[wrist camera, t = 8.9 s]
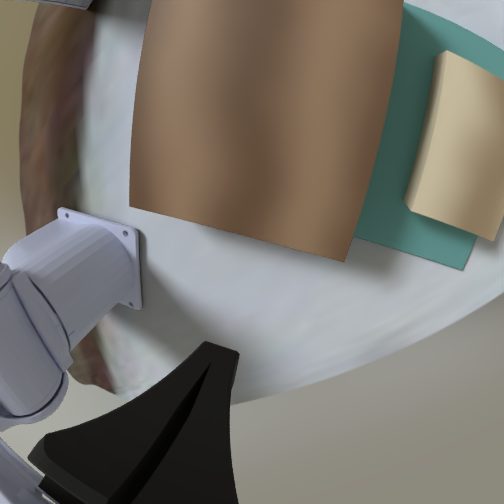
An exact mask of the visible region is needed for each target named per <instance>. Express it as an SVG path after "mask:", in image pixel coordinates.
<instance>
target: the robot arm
mask: <svg viewBox="0 0 504 504" xmlns="http://www.w3.org/2000/svg"><path fill="white" fill-rule="evenodd" d="M126 231H127V232H128V234H127V233H126ZM117 303H120V304H123V305H125V306H127V307H130V308H132V309H135V310H140V309H141V308H142V298H141V284H140V267H139V241H138V232H137V230H136V229H135V228H133V227H129V226H126V225H122V224H119V223H115V222H112V221H109V220H105V219H102V218H98V217H95V216H91V215H88V214H84V213H81V212H77V211H74V210H70V209H67V208H64V207H61V208H59V209H58V219H56V220H55V221H53V222H51V223H49V224H47V225H45V226H44V227H42V228H40V229H38V230H37V231H35V232H33V233H31V234H30V235H28V236H26V237H25V238H23V239H21V240H19V241H18V242H16V243H15V244H14V245H13V246H11V248H10V249H9V250H8V251H7V253H6V254H5V256H4V258H3V260H2V263H1V262H0V432H3V431H5V430H6V429H8V428H10V427H12V426H15V425H19V424H32V423H36V422H38V421H41V420H44V419H45V418H47V417H48V416H50V415H51V414H52V413H54V412H55V410H56V409H57V408H58V407H59V406H60V404H61V402H62V401H63V398H64V397H65V395H66V392H67V389H68V383H69V380H68V375H67V372H66V370H67V369H68V367H69V366H70V365H71V364H72V363H73V360H72V358H71V357H70V354H69V352H70V351H71V350H72V349H73V348H74V347H75V346H76V345H77V344H78V343H79V342H80V341H81V340H82V339H83V338H84V337H85V336H86V334H87V333H88V332H89V331H90V330H91V329H92V328H93V327H94V326H95V325H96V324H97V323H98V322H99V321H100V320H101V319H102V318H103V317H104V316H105V315H106V314H107V313H108V312H109V311H110V310H111V309H112V308H113V307H114V306H115V305H116V304H117ZM239 355H240V354H239V353H238V352H237V351H235V350H231V349H228V348H225V347H222V346H219V345H216V344H213V343H210V342H207V341H205V342H203V343H202V344H201V345H200V346H199V347H198V348H197V349H196V350H195V351H194V352H193V353H192V354H191V355H190V356H189V357H188V358H187V359H186V360H185V361H183V362H182V363H181V364H180V365H179V366H178V367H177V368H175V369H174V370H173V371H172V372H171V373H169V374H168V375H167V376H166V377H165V378H163V379H162V380H161V381H159V382H158V383H157V384H155V385H154V386H152V387H151V388H150V389H148V390H147V391H145V392H144V393H142V394H141V395H139V396H138V397H136V398H135V399H133V400H131V401H129V402H128V403H126V404H124V405H123V406H121V407H119V408H117V409H115V410H113V411H111V412H109V413H107V414H105V415H102V416H100V417H98V418H95V419H93V420H90V421H87V422H85V423H82V424H80V425H77V426H74V427H71V428H67V429H63V430H59V431H56V432H52V433H48V434H46V435H45V436H44V437H43V438H42V439H41V440H40V441H39V442H38V443H37V444H36V446H35V447H34V449H33V450H32V451H31V453H30V454H29V455H28V460H29V461H30V462H31V463H32V464H33V465H34V466H36V467H37V468H38V469H39V470H40V471H42V472H43V473H44V474H45V477H43V476H41V475H40V474H39V473H38V472H37V471H35V470H34V469H33V468H32V467H31V466H29V464H27V463H26V462H25V461H24V460H23V459H22V458H21V457H20V456H19V455H17V454H16V453H15V452H14V451H13V450H12V449H11V448H10V447H9V446H8V445H7V444H6V443H5V442H4V441H3V440H2V439H1V438H0V504H53V503H51V502H50V501H48V500H46V499H45V498H43V497H42V493H43V494H44V495H45V496H47V497H48V498H49V499H50V500H52V501H53V502H55V503H56V504H239V503H238V498H237V494H236V488H235V481H234V475H233V468H232V459H231V448H230V424H229V423H230V421H229V420H230V398H231V389H232V386H233V383H234V379H235V374H236V370H237V365H238V360H239Z"/></svg>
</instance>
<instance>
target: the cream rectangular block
mask: <svg viewBox="0 0 504 504" xmlns="http://www.w3.org/2000/svg"><path fill="white" fill-rule="evenodd" d="M403 201H404V202H405V204H406V205H407V206H408V208H409V209H410V210H411V211H413V212H416V213H419V214H421V215H424V216H427V217H430V218H433V219H436V220H439V221H441V222H444V223H447V224H449V225H452V226H455V227H457V228H460V229H463V230H465V231H468V232H470V233H473V234H475V235H478V236H480V237H483V238H485V239H488V240H490V241H492V242H494V239H495V237H496V234H497V232H498V229H499V227H500V224H501V221H502V219H503V216H504V81H503V80H502V79H500V78H498V77H497V76H495V75H493V74H492V73H490V72H488V71H487V70H485V69H483V68H481V67H479V66H478V65H476V64H474V63H472V62H470V61H468V60H466V59H464V58H462V57H460V56H458V55H456V54H454V53H452V52H450V51H448V50H446V51H444V52H442V53H441V54H439V55H437V56H435V59H434V67H433V74H432V80H431V87H430V92H429V98H428V103H427V109H426V114H425V118H424V123H423V128H422V132H421V136H420V141H419V145H418V149H417V153H416V157H415V160H414V164H413V168H412V171H411V175H410V179H409V182H408V185H407V189H406V192H405V195H404V198H403Z"/></svg>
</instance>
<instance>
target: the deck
mask: <svg viewBox="0 0 504 504" xmlns="http://www.w3.org/2000/svg"><path fill="white" fill-rule="evenodd" d="M403 1H404V0H152V3H151V7H150V11H149V16H148V20H147V25H146V30H145V35H144V40H143V46H142V52H141V58H140V64H139V71H138V78H137V85H136V93H135V102H134V112H133V124H132V137H131V154H130V186H129V206H130V207H134V208H138V209H142V210H146V211H150V212H154V213H158V214H162V215H166V216H170V217H174V218H178V219H182V220H186V221H190V222H194V223H198V224H201V225H205V226H209V227H213V228H217V229H221V230H225V231H229V232H233V233H236V234H240V235H244V236H248V237H252V238H256V239H259V240H263V241H267V242H271V243H274V244H278V245H282V246H286V247H289V248H293V249H297V250H301V251H304V252H308V253H312V254H315V255H319V256H323V257H327V258H330V259H334V260H338V261H341V262H344V261H345V259H346V256H347V253H348V250H349V247H350V244H351V241H352V238H353V235H354V232H355V229H356V226H357V222H358V219H359V216H360V213H361V209H362V206H363V203H364V199H365V196H366V193H367V189H368V186H369V182H370V178H371V175H372V171H373V167H374V163H375V160H376V156H377V152H378V148H379V144H380V139H381V135H382V131H383V127H384V122H385V118H386V113H387V108H388V103H389V98H390V93H391V88H392V83H393V77H394V71H395V65H396V59H397V52H398V45H399V38H400V30H401V22H402V12H403Z"/></svg>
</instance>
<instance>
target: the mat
mask: <svg viewBox="0 0 504 504" xmlns="http://www.w3.org/2000/svg"><path fill="white" fill-rule="evenodd" d="M446 50H448V51H450V52H452V53H454V54H456V55H458V56H460V57H462V58H464V59H466V60H468V61H470V62H472V63H474V64H476V65H478V66H479V67H481V68H483V69H485V70H487V71H488V72H490V73H492V74H493V75H495V76H497V77H498V78H500V79H502V80H503V81H504V51H503V50H501V49H500V48H498V47H497V46H495V45H493V44H492V43H490V42H488V41H487V40H485V39H483V38H482V37H480V36H478V35H476V34H474V33H473V32H471V31H469V30H467V29H465V28H463V27H461V26H459V25H457V24H455V23H453V22H451V21H449V20H446V19H444V18H442V17H440V16H438V15H435V14H433V13H430V12H428V11H426V10H423V9H421V8H418V7H415V6H413V5H410V4H407V3H404V2H403V12H402V22H401V30H400V38H399V45H398V52H397V59H396V65H395V71H394V77H393V83H392V88H391V93H390V98H389V103H388V108H387V113H386V118H385V122H384V127H383V131H382V135H381V139H380V144H379V148H378V152H377V156H376V160H375V163H374V167H373V171H372V175H371V178H370V182H369V186H368V189H367V193H366V196H365V199H364V203H363V206H362V209H361V213H360V216H359V219H358V222H357V226H356V229H355V232H354V235H353V237H357V238H360V239H364V240H367V241H371V242H374V243H378V244H381V245H384V246H388V247H391V248H394V249H398V250H401V251H404V252H407V253H411V254H414V255H417V256H420V257H423V258H427V259H430V260H433V261H436V262H439V263H442V264H445V265H448V266H451V267H454V268H457V269H460V270H462V269H463V267H464V265H465V262H466V260H467V258H468V256H469V254H470V251H471V249H472V247H473V245H474V242H475V240H476V237H477V235H475V234H473V233H470V232H468V231H465V230H463V229H460V228H457V227H455V226H452V225H449V224H447V223H444V222H441V221H439V220H436V219H433V218H430V217H427V216H424V215H421V214H419V213H416V212H413V211H411V210H410V209H409V208H408V206H407V205H406V204H405V202H404V201H403V198H404V195H405V192H406V189H407V185H408V182H409V179H410V175H411V171H412V168H413V164H414V160H415V157H416V153H417V149H418V145H419V141H420V136H421V132H422V128H423V123H424V118H425V114H426V109H427V103H428V98H429V92H430V87H431V80H432V74H433V67H434V59H435V56H437V55H439V54H441V53H442V52H444V51H446Z"/></svg>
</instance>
